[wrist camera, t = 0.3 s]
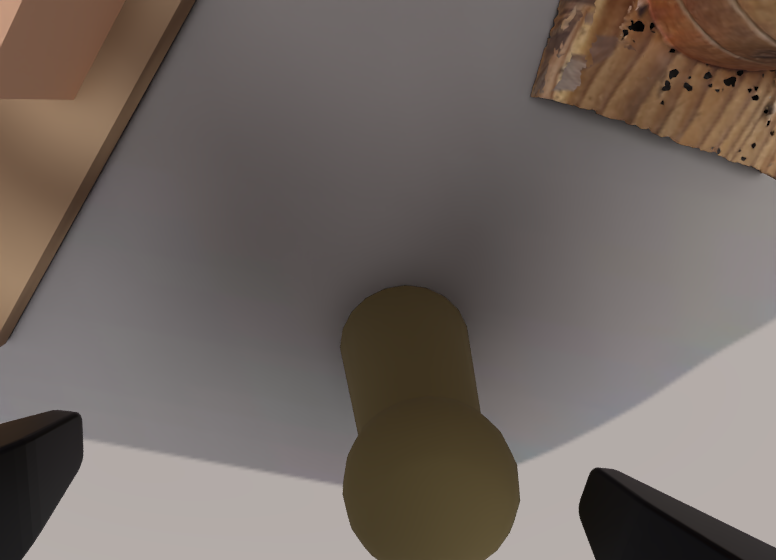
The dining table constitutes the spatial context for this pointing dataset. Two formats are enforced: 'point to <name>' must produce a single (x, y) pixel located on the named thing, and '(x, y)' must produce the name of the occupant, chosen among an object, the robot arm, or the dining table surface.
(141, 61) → the wooden base with cylinder
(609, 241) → the dining table surface
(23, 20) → the cube
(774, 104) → the bird sculpture
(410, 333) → the cork
